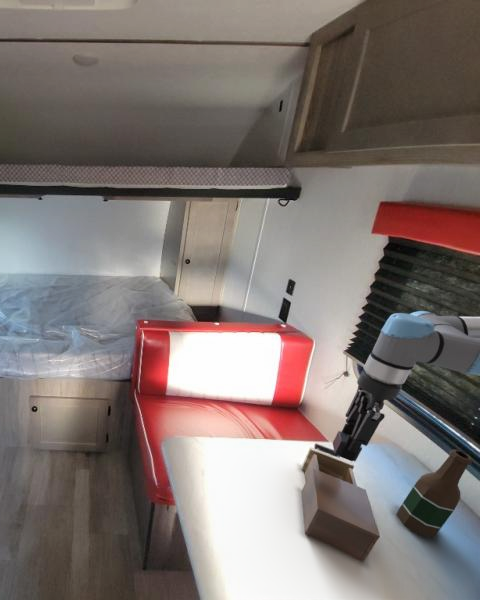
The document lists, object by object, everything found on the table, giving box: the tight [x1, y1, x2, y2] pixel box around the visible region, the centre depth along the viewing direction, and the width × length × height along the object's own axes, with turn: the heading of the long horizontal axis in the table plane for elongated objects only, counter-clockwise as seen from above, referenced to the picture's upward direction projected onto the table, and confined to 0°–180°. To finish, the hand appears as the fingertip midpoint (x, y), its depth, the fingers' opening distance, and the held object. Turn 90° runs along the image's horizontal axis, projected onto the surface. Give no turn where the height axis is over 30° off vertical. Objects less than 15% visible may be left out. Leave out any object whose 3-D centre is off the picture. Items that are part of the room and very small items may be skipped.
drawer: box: [301, 443, 358, 486], centre depth 92 cm, size 17×10×8 cm, turn 151°
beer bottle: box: [395, 448, 473, 540], centre depth 80 cm, size 8×8×24 cm
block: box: [332, 430, 363, 462], centre depth 86 cm, size 4×4×4 cm
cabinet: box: [300, 468, 381, 563], centre depth 81 cm, size 13×11×9 cm
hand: (344, 451), depth 87 cm, fingers closed on block, 4 cm apart
